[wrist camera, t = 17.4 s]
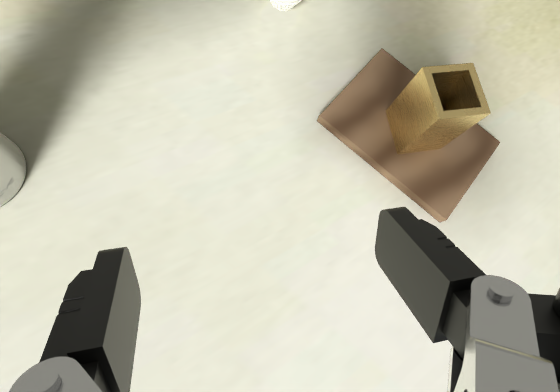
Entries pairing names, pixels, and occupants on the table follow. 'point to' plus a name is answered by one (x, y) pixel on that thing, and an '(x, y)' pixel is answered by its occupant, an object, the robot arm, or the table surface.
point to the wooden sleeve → (436, 108)
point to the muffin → (284, 4)
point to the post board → (381, 149)
